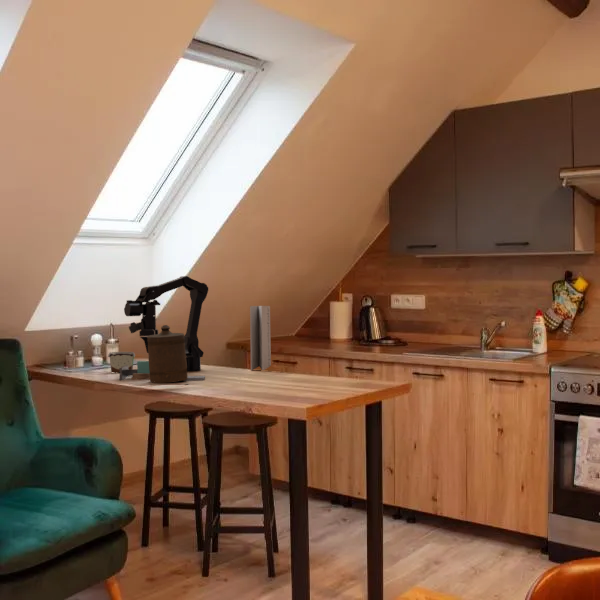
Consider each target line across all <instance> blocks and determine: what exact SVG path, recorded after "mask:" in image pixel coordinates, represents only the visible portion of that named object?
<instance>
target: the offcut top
mask: <svg viewBox="0 0 600 600" xmlns="http://www.w3.org/2000/svg"><path fill="white" fill-rule="evenodd" d="M132 377H133V378H143V377H150V373H134V374H133V376H132Z"/></svg>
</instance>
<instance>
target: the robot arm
mask: <svg viewBox="0 0 600 600" xmlns="http://www.w3.org/2000/svg"><path fill="white" fill-rule="evenodd" d="M181 287H183V288H185V289H186V290H187V291H188V292H189V297H190V301H191V302H190V303H191V304H190V309H189V314H188V315H189V316H188V321H187V326H186V327H187V328H186V332H185V333H184V338H185V341H184V342H185V352H186V362H187V372H200V371H201V370H202V369H201V364H202V363H201V358H203V357H204V351H203V350H202V348H200V345H199V344H200V342H199V337H198V332H199V331H198V330H199V325H200V319H201V312H202V309H203V308H202V306H203V303H204V301H206V298H207V296H208V292H209V286H208V285H207V284H206V283H205V282H200V281H198V280H196V279H193V278H191V277H190V276H188V275H183V276H182V275H181V276H179V277H177V278H176V279H172V280H169V281H167V282H164V283H163V282H162V283H161V284H157V285H150V286H143V287H142V288H141V289H140V291H139V295H138V296H137V298H136V299H135V300H132V299H127V300H126V303H125V304H124V309H123V311H124V315H125V316H126V317H142V318H141V319H140V322H138V323H136V322H134V321H133V322H130V326H128V330H129V331H130V334H134V333H136V332H138V331H139V338H140V339H142V341H143V343H144V347H145V350H146V353H147V354H148V340H147V336H150V335H155V334H160V333H159V329H158V328H157V315H156V314H157V313H156V312H157V311H156V310H157V309H156V306H161V302H159V301H158V300H157V298H159V297H161V296H162V295H163V294H165V293H167V292H170V291H172V290H176V289H178V288H181Z"/></svg>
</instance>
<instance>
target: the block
mask: <svg viewBox="0 0 600 600" xmlns="http://www.w3.org/2000/svg"><path fill="white" fill-rule="evenodd" d="M136 366H137V367H136V369H137V373H150V372H149V360H139V361H137V363H136Z"/></svg>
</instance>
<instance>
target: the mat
mask: <svg viewBox="0 0 600 600" xmlns="http://www.w3.org/2000/svg"><path fill="white" fill-rule="evenodd" d="M205 380H206V375H188V378H187V379H186V380H183V381H182V382H184V381H185V382H186V381H188V382H189V381H205Z"/></svg>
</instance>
